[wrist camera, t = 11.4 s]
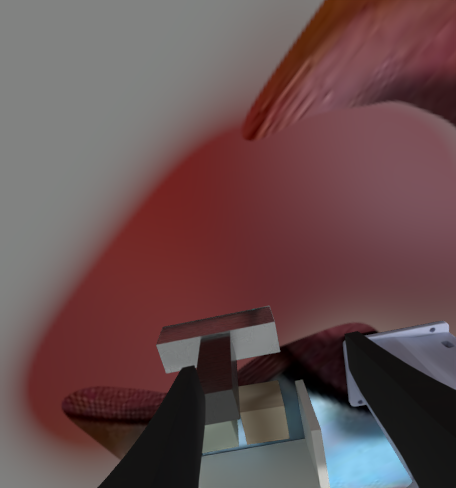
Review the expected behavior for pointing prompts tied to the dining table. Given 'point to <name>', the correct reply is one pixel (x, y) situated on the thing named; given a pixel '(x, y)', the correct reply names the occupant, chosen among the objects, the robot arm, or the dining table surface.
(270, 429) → the chip
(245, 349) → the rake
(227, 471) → the corral
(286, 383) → the dining table surface
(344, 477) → the dining table surface
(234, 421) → the pale green block
